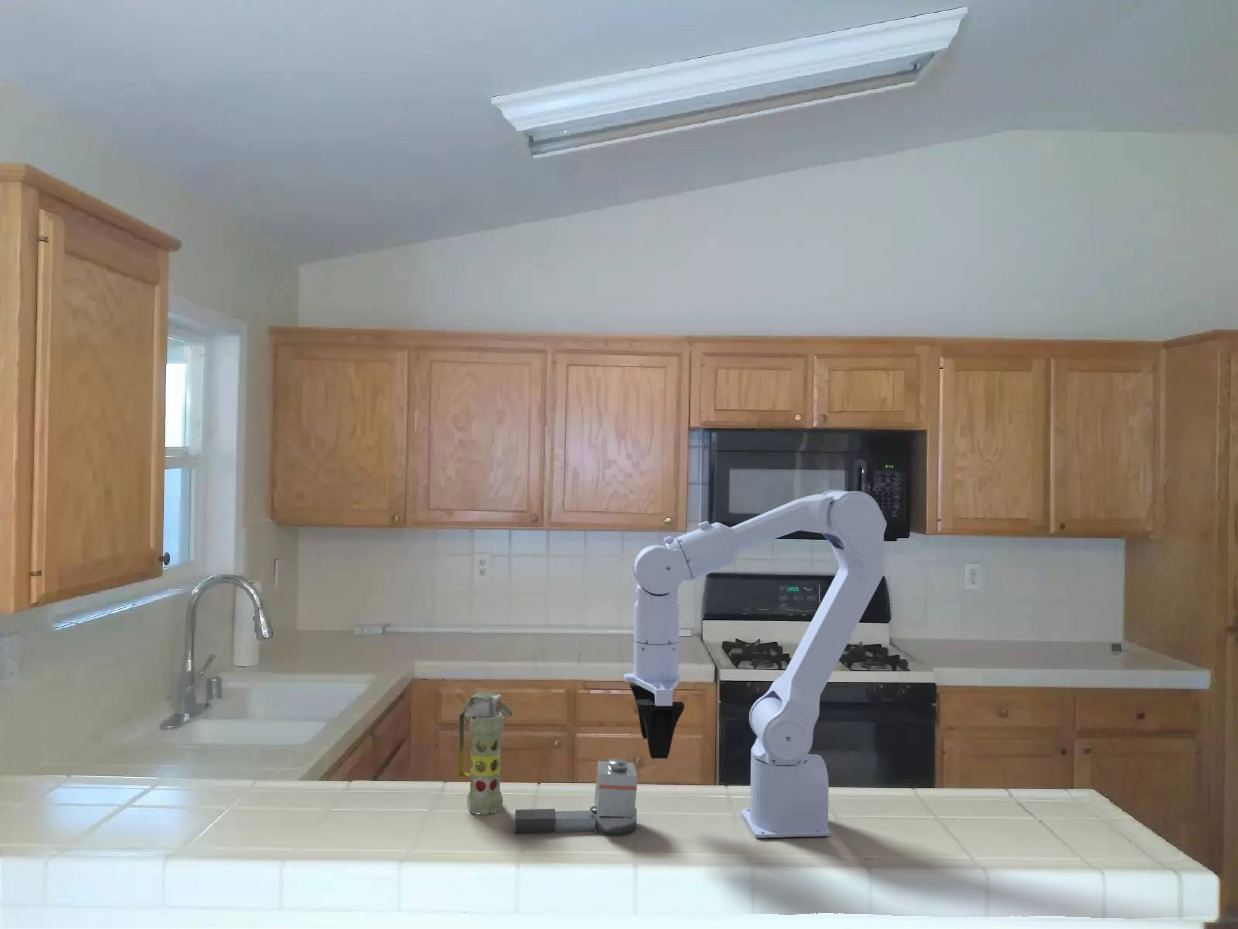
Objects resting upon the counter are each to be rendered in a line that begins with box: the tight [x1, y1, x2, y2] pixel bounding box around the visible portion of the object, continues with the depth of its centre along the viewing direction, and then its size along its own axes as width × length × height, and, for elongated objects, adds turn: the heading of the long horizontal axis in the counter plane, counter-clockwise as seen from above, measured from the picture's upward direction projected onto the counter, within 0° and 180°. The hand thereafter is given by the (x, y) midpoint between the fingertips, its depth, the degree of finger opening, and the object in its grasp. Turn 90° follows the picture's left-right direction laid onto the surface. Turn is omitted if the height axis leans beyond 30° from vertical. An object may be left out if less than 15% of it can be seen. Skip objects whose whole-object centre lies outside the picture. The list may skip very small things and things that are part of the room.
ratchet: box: [514, 805, 638, 837], centre depth 109 cm, size 15×6×4 cm, turn 96°
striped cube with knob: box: [594, 758, 639, 817], centre depth 109 cm, size 5×5×6 cm
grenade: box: [457, 691, 514, 815], centre depth 115 cm, size 6×7×15 cm
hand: (654, 747), depth 110 cm, fingers open, 7 cm apart
